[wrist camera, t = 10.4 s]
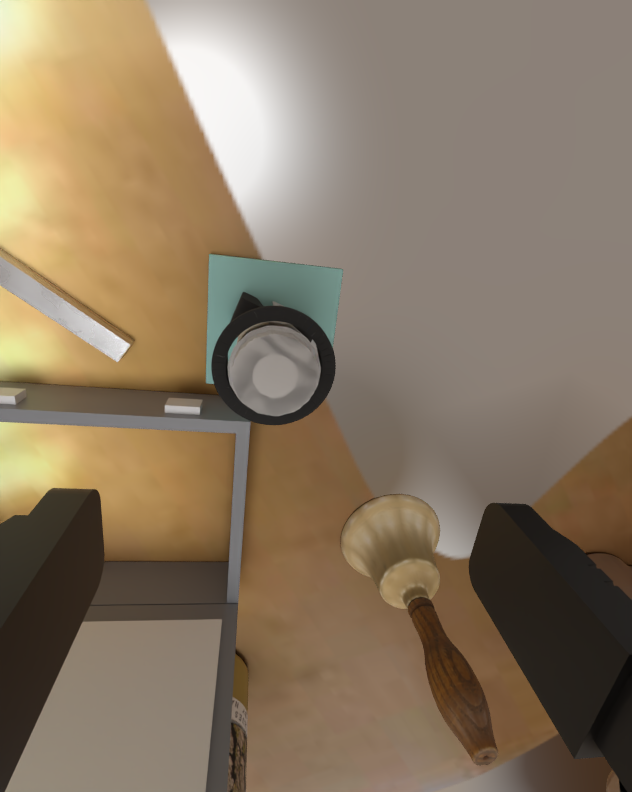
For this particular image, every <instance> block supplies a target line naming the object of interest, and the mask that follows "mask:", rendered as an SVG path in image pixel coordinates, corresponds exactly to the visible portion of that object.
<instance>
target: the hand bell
mask: <svg viewBox="0 0 632 792" xmlns="http://www.w3.org/2000/svg"><path fill="white" fill-rule="evenodd" d="M439 536H440V525H439V521H438V518H437V515H436V513H435V512H434V510H433V509H432V508H431V507H430V506H429V505H428V504H427V503H426V502H424V501H423V500H421V499H419V498H416V497H414V496H410V495H404V494H393V495H392V494H390V495H384V496H381V497H377V498H374V499H372V500H370V501H369V502H366V503H365V504H363V505H362V506H361V507H359V508H358V509H357V510H356V511H355V512H354V513H353V514H352V515H351V516H350V518H349V519H348V520H347V522H346V523H345V526H344V528H343V531H342V535H341V549H342V553H343V555H344V557H345V559H346V561H347V562H348V563H349V564H350V565H351V566H352V567H353V568H354V569H355V570H356V571H358V572H359V573H361V574H363V575H365V576H368V577H371V578H372V579H373V580H374V582H375V584H376V586H377V588H378V590H379V592H380V594H381V596H382V598H383V599H384V600H385V601H386V602H387V603H388V604H390V605H391V606H394V607H396V608H401V609H407V610H408V613H409V615H410V617H411V618H412V621H413V623H414V626H415V628H416V630H417V632H418V634H419V636H420V639H421V641H422V644H423V648H424V653H425V665H426V672H427V677H428V680H429V684H430V687H431V691H432V694H433V697H434V699H435V702H436V704H437V707H438V709H439V711H440V713H441V715H442V716H443V718H444V720H445V722H446V723H447V725H448V726H449V728H450V729H451V730H452V732H453V733H454V734H455V736H456V737H457V738H458V740H459V741H460V742H461V743H462V745H463V746H464V748H465V749H466V751H467V752H468V754H469V755H470V757H471V759H472V760H473V762H474V763H475V764H476V765H488V764H490V763H492V762H493V761H495V759H496V758H497V757H498V750H497V747H496V743H495V740H494V736H493V730H492V724H491V717H490V712H489V708H488V704H487V701H486V698H485V695H484V692H483V690H482V688H481V685H480V683H479V681H478V679H477V677H476V676H475V674H474V672H473V670H472V668H471V667H470V665H469V664H468V662H467V661H466V659H465V658H464V656H463V655H462V654H461V653H460V651H459V650H458V649H457V648H456V647H455V646H454V645H453V644H452V642H451V641H450V640H449V639H448V637H447V636H446V634H445V632H444V630H443V628H442V625H441V623H440V621H439V618H438V616H437V614H436V611H435V610H434V606H433V604H432V602H431V600H430V599H431V598H432V597H433V596H434V595H435V593H436V592H437V590H438V588H439V584H440V575H439V571H438V569H437V566H436V563H435V560H434V555H433V553H434V551H435V549H436V547H437V543H438V541H439Z"/></svg>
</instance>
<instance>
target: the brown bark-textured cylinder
mask: <svg viewBox="0 0 632 792" xmlns="http://www.w3.org/2000/svg"><path fill="white" fill-rule="evenodd" d="M247 710H248V670H247V667H246V665H245V663H244V662H243V660H242V659H241V658H240V657H239V656H238V655H236V654H235V664H234V681H233V699H232V716H231V733H230V750H229V767H228V784H227V792H246V762H247V722H248V715H247Z"/></svg>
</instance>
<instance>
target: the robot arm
mask: <svg viewBox="0 0 632 792" xmlns="http://www.w3.org/2000/svg"><path fill="white" fill-rule="evenodd" d="M103 566H104V542H103V528H102V514H101V501H100V495H99V492H98V491H97V490H95V489H64V488H53V489H50V490H49V491H48V492H47V493H46V494H45V496H44V497H43V498H42V499H41V500H40V502H39V503H38V504H37V505H36V507H35V508H34V509H33V510H32V511H31V513H30V514H29V515H28V516H27V515H14V516H13V517H11V518H10V519H8V520H6V521H5V522H3V523H2V524H0V792H5V790H6V788H7V786H8V784H9V781H10V779H11V777H12V775H13V773H14V771H15V768H16V766H17V764H18V762H19V760H20V757H21V755H22V753H23V751H24V749H25V747H26V744H27V742H28V740H29V738H30V736H31V733H32V731H33V729H34V727H35V725H36V722H37V720H38V718H39V716H40V714H41V712H42V709H43V707H44V705H45V703H46V701H47V698H48V696H49V694H50V692H51V690H52V688H53V685H54V683H55V681H56V679H57V677H58V674H59V672H60V670H61V668H62V666H63V664H64V661H65V659H66V657H67V655H68V653H69V650H70V648H71V646H72V644H73V642H74V640H75V637H76V635H77V633H78V631H79V629H80V626H81V624H82V622H83V620H84V618H85V616H86V613H87V611H88V609H89V607H90V605H91V602H92V600H93V598H94V596H95V594H96V592H97V589H98V587H99V584H100V580H101V577H102V572H103ZM469 575H470V580H471V583H472V586H473V588H474V590H475V592H476V594H477V595H478V597H479V599H480V600H481V602H482V604H483V605H484V607H485V609H486V610H487V612H488V614H489V616H490V617H491V619H492V621H493V622H494V624H495V626H496V627H497V629H498V631H499V632H500V634H501V636H502V638H503V639H504V641H505V643H506V644H507V646H508V648H509V649H510V651H511V653H512V654H513V656H514V658H515V659H516V661H517V663H518V665H519V666H520V668H521V670H522V671H523V673H524V675H525V676H526V678H527V680H528V681H529V683H530V685H531V687H532V688H533V690H534V692H535V693H536V695H537V697H538V698H539V700H540V702H541V703H542V705H543V707H544V708H545V710H546V712H547V714H548V715H549V717H550V719H551V720H552V722H553V724H554V725H555V727H556V729H557V730H558V732H559V734H560V735H561V737H562V739H563V741H564V742H565V744H566V746H567V747H568V749H569V751H570V752H571V754H572V756H573V757H574V759H580V758H593V757H605V758H606V760H607V761H608V763H609V765H610V766H611V768H612V771H611V773H610V774H609V776H608V780H607V792H632V566H627V565H626V564H625V563H624V562H623V561H622V560H621V559H619V558H617V557H615V556H614V555H609V554H603V553H595V554H589V555H586V554H585V553H584V552H583V551H582V550H581V549H580V548H579V547H578V546H577V545H576V544H575V543H573V542H572V541H570V540H569V539H567V538H566V537H564V536H563V535H561V534H560V533H558V532H557V531H555V530H553V529H552V528H551V527H550V526H549V525H548V524H547V523H546V522H545V521H544V520H543V519H542V518H541V517H540V516H539V515H538V514H537V513H536V512H535V511H534V509H533V508H531V507H530V506H529V505H526V504H509V503H508V504H507V503H491V504H489V505H488V506H487V507H486V509H485V511H484V514H483V517H482V520H481V524H480V527H479V530H478V533H477V537H476V540H475V543H474V546H473V550H472V553H471V556H470V560H469Z"/></svg>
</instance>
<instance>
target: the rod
mask: <svg viewBox="0 0 632 792" xmlns="http://www.w3.org/2000/svg"><path fill="white" fill-rule="evenodd" d="M0 285H1V286H2V287H4V288H5V289H7V290H8V291H10V292H11V293H13V294H14V295H16V296H17V297H19V298H20V299H22V300H24V301H25V302H27V303H28V304H30V305H31V306H33V307H34V308H36V309H37V310H39V311H40V312H42V313H43V314H45V315H46V316H48V317H49V318H51V319H52V320H54V321H56V322H57V323H59V324H60V325H62V326H63V327H65V328H66V329H68V330H69V331H71V332H72V333H74V334H75V335H77V336H78V337H80V338H81V339H83V340H85V341H86V342H88V343H89V344H91V345H92V346H94V347H95V348H97V349H98V350H100V351H101V352H103V353H104V354H106V355H107V356H109V357H110V358H112V359H113V360H115V361H117V362H118V361H119V360H120V359H121V358H123V356H124V355H125V354H126V352H127V351H128V349H129V348H130V347H131V345H132V344H133V343H134V341H135V340H134V339H132V338H131V337H129V336H128V335H126V334H125V333H123V332H122V331H121V330H119V329H118V328H116V327H115V326H113V325H112V324H110V323H109V322H107V321H106V320H104V319H103V318H102V317H100V316H99V315H97V314H96V313H94V312H93V311H91V310H90V309H88V308H87V307H85V306H84V305H83V304H81V303H80V302H78V301H77V300H75V299H74V298H72V297H71V296H69V295H68V294H67V293H65V292H64V291H62V290H61V289H59V288H58V287H56V286H55V285H53V284H52V283H50V282H49V281H48V280H46V279H45V278H43V277H42V276H40V275H39V274H37V273H36V272H34V271H33V270H31V269H30V268H29V267H27V266H26V265H24V264H23V263H21V262H20V261H18V260H17V259H15V258H14V257H13V256H11V255H10V254H8V253H7V252H5V251H4V250H2V249H1V248H0Z"/></svg>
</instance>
